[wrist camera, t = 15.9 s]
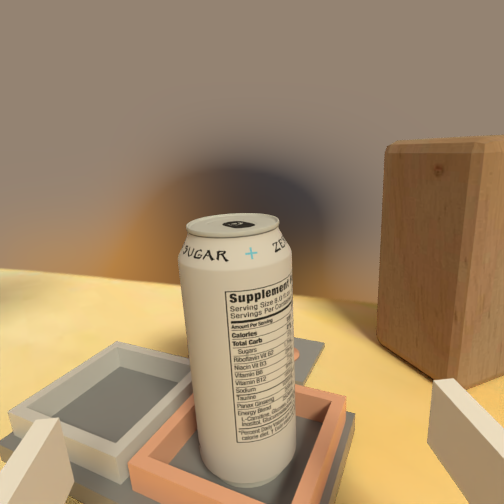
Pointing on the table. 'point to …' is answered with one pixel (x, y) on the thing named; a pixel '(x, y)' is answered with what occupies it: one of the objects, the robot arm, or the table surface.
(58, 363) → the table surface
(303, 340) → the grey button plate
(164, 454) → the socket plate
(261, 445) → the energy drink can
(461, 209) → the wooden block
